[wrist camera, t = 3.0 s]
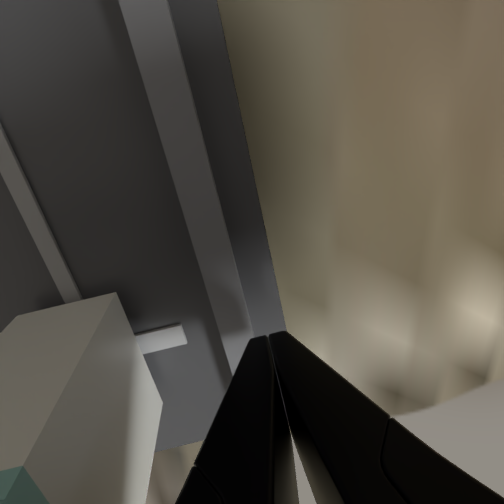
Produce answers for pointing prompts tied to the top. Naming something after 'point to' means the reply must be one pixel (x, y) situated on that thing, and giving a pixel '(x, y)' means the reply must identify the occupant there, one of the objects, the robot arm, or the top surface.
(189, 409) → the console
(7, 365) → the fader teal
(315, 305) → the top surface
